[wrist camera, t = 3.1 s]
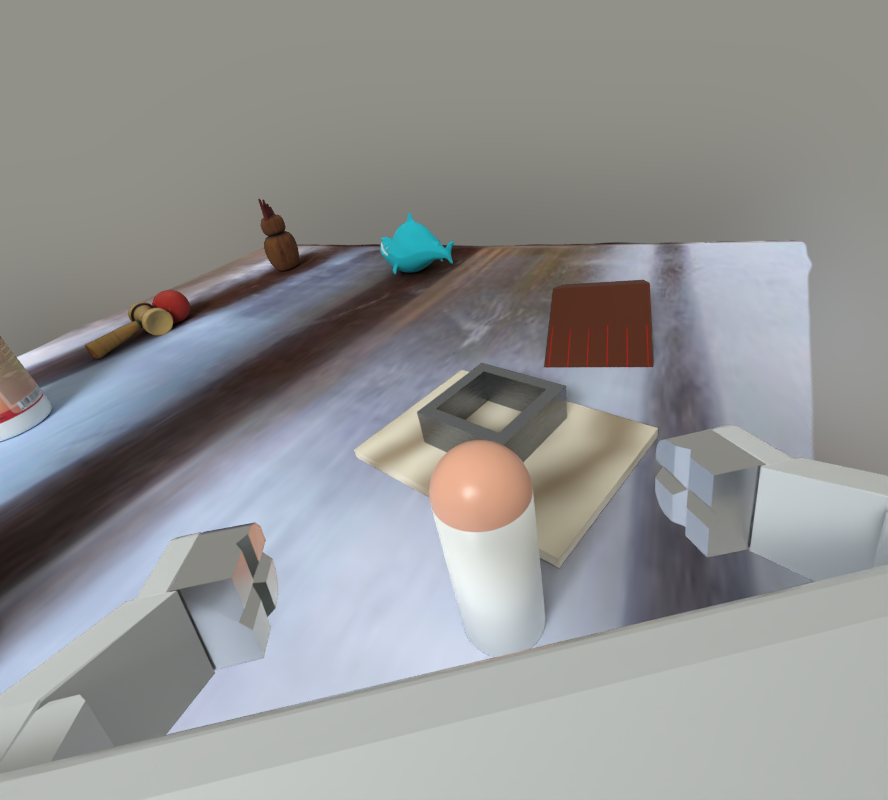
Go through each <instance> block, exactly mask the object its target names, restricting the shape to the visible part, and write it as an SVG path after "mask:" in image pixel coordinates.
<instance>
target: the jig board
mask: <svg viewBox="0 0 888 800" xmlns="http://www.w3.org/2000/svg"><path fill="white" fill-rule="evenodd" d="M468 373H469V372H467V371H464V370H461V371H460V372H458V373H457V374H456V375H454V376H453V377H451V378H450V379H449V380H447V381H446V382H445V383H443V384H442V385H441V386H439V387H438V388H437V389H435V390H434V391H433V392H431V393H430V394H429V395H427V396H426V397H425V398H423V399H422V400H421V401H419V402H418V403H416V404H415V405H414V406H412V407H411V408H410V409H408V410H407V411H406V412H404V413H403V414H402V415H400V416H399V417H398V418H396V419H395V420H394V421H392V422H391V423H390V424H388V425H387V426H385V427H384V428H383V429H381V430H380V431H379V432H377V433H376V434H375V435H373V436H372V437H371V438H369V439H368V440H367V441H365V442H364V443H363V444H361V445H360V446H359V447H357V448H356V449H355V450H354V451H355V454H356V456H357V458H358V459H360V460H362V461H364V462H366V463H367V464H369V465H371V466H373V467H375V468H377V469H378V470H380V471H382V472H384V473H386V474H388V475H389V476H391V477H393V478H395V479H397V480H399V481H400V482H402V483H404V484H406V485H408V486H410V487H411V488H413V489H415V490H417V491H419V492H421V493H422V494H424V495H426V496H428V497H429V487H430V481H431V476H432V474H433V471H434V469H435V467H436V465H437V464H438V462H439V460H440V459H441V458H442V457H443V456H444V455H445V454H446V453H447V452H445V451H443V450H440V449H438V448H436V447H434V446H431V445H429V444H427V443H425V442H424V438H423V434H422V431H421V427H420V423H419V419H418V415H417V411H419V410H420V409H421V408H423V407H424V406H425V405H427V404H428V403H429V402H431V401H432V400H433V399H435V398H436V397H437V396H439V395H440V394H441V393H443V392H444V391H445V390H447V389H448V388H449V387H451V386H452V385H453V384H454V383H456V382H457V381H458V380H460V379H461V378H462V377H464V376H465V375H466V374H468ZM566 405H567V418H566V419H565V421H564V422H563V423H562V424H561V425H560V426H559V427H558V428H557V429H556V430H555V431H554V432H553V433H552V434H551V435H550V436H549V437H548V438H547V439H546V440H545V441H544V442H543V443H542V444H541V445H540V446H539V447H538V448H537V449H536V450H535V451H534V452H533V453H532V454H531V455H530V456H529V457H528V458H527V459H526V460H525V461H524V462H523V463H524V465H525V466H526V468H527V470H528V472H529V475H530V477H531V482H532V487H533V496H534V506H535V516H536V526H537V536H538V546H539V556H540V558H541V559H543V560H545V561H547V562H549V563H550V564H552V565H554V566H556V567H558V568H560V567H561V565H562V564H563V563H564V561H565V560H566V559H567V557H568V556H569V555H570V553H571V552H572V551H573V549H574V548H575V547H576V545H577V544H578V543H579V541H580V540H581V539H582V537H583V536H584V535H585V533H586V532H587V531H588V529H589V528H590V527H591V525H592V524H593V523H594V521H595V520H596V519H597V517H598V516H599V515H600V513H601V512H602V511H603V509H604V508H605V507H606V505H607V504H608V503H609V501H610V500H611V499H612V497H613V496H614V495H615V493H616V492H617V491H618V489H619V488H620V487H621V485H622V484H623V483H624V481H625V480H626V478H627V477H628V476H629V474H630V473H631V472H632V470H633V469H634V468H635V466H636V465H637V464H638V462H639V461H640V460H641V458H642V457H643V456H644V454H645V453H646V452H647V450H648V449H649V448H650V446H651V445H652V444H653V442H654V441H655V440H656V438H657V434H658V428H656V427H652V426H649V425H645V424H642V423H639V422H635V421H632V420H629V419H625V418H622V417H618V416H615V415H612V414H608V413H605V412H602V411H598V410H595V409H592V408H588V407H585V406H581V405H578V404H575V403H571V402H568V401H566ZM520 413H521V412H520V411H517V410H514V409H511V408H508V407H505V406H502V405H499V404H496V403H493V402H490V401H487V402H486V403H485V404H484V405H483V406H482V407H480V408H479V409H478V410H477V411H476V412H474V413H473V414H472V415H471V416H470V417H468V418H467V419H466V420H467V421H469V422H472V423H474V424H477V425H480V426H482V427H485V428H488V429H490V430H493V431H495V432H498V433H499V432H500V431H502V430H503V429H504V428H505V427H506V426H507V425H508V424H509V423H510V422H511V421H512V420H514V419H515V418H516V417H517V416H518V415H519V414H520Z"/></svg>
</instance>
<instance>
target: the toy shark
mask: <svg viewBox="0 0 888 800" xmlns="http://www.w3.org/2000/svg"><path fill="white" fill-rule="evenodd" d="M382 243H383V244H382ZM382 243H381V248H380V251H381V253H382V255H383V256H384V258H385V259H386V260H387V261H388V262H389V264H390V265H391V266H393V272H394V274H396V272H397V270H399V271H402V272H406V273H413V272H418V271H421V270H423V269H424V268H426V267H427V266H428V265H430V264H431V263H432V262H433V261H434V260H436V259H439V260H441V261H442V262H443V260H442V258H446V259H448V260H449V262H450V263H453V261H452V258H451V248H452V246H453V244H454V241H451V242H450V243H449V244H448V245H447V247H446V249H445V248H444V247H443V246H442V244H441V243H440V241H439V240H438V239H437V238H436V237H435V236H434V235H433V234H432V233H431V232H430V231H429V230H428V229H427V228H426V227H425V226H423V225H422V224H419V223H416V222H414V221H413V219H412V216H411V213H409V214H408V219H407V222H406V223H404V224H402V225H401V226H400V227H399V228H398V229H397V231H396V232H395V234H394V236H393V239H390V238H389V237H383V238H382Z"/></svg>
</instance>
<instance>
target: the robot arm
mask: <svg viewBox="0 0 888 800" xmlns="http://www.w3.org/2000/svg"><path fill="white" fill-rule="evenodd" d="M656 460H657V461H658V462H659V464H660V465H661V466H662V468H661V470H660V471H659V473H658V474H657V476H656V477H655V493H656V496H657V499H658V503H659V505H660V507H661V509H662V510H663V512H664V514H665V515H666V516H667V517H668V518H669V519H670V520H671V521H672V522H675V523H677V524H680V525H683V526H685V527H686V531H685V536H686V537H687V538H688V539H689V540H690V541H691V542H692V543H693V544H694V545H695V546H696V547H697V548H698V549H699V550H700V551H701V552H702V553H703V554H704V555H705V556H706V557H712V556H717V555H722V554H727V553H732V552H737V551H742V550H747V549H750V551H751V552H753V553H755V554H757V555H759V556H761V557H763V558H766V559H768V560H770V561H772V562H774V563H776V564H778V565H780V566H782V567H784V568H787V569H789V570H791V571H793V572H795V573H797V574H799V575H801V576H803V577H806V578H808V579H810V580H812V581H814V582H812V583H808V584H803V585H799V586H795V587H791V588H786V589H782V590H778V591H774V592H769V593H765V594H761V595H757V596H752V597H748V598H744V599H740V600H735V601H731V602H727V603H723V604H718V605H714V606H710V607H706V608H701V609H697V610H693V611H689V612H684V613H680V614H676V615H672V616H667V617H663V618H659V619H655V620H650V621H646V622H642V623H638V624H633V625H629V626H625V627H621V628H616V629H612V630H608V631H604V632H600V633H595V634H591V635H587V636H583V637H578V638H574V639H570V640H566V641H562V642H557V643H553V644H549V645H545V646H541V647H536V648H532V649H528V650H524V651H520V652H515V653H511V654H507V655H503V656H499V657H494V658H490V659H486V660H482V661H477V662H473V663H469V664H465V665H460V666H456V667H452V668H448V669H444V670H439V671H435V672H431V673H427V674H422V675H418V676H414V677H410V678H405V679H401V680H397V681H393V682H388V683H384V684H380V685H376V686H371V687H367V688H363V689H359V690H354V691H350V692H346V693H342V694H337V695H333V696H329V697H325V698H320V699H316V700H312V701H308V702H303V703H299V704H295V705H291V706H286V707H282V708H278V709H274V710H270V711H265V712H261V713H257V714H253V715H248V716H244V717H240V718H236V719H231V720H227V721H223V722H219V723H214V724H210V725H206V726H202V727H197V728H193V729H189V730H185V731H180V732H176V733H172V734H168V735H166V734H167V733H168V732H169V730H170V729H171V728H172V727H173V725H174V724H175V723H176V722H177V720H178V719H179V718H180V717H181V715H182V714H183V713H184V712H185V710H186V709H187V708H188V706H189V705H190V704H191V703H192V701H193V700H194V699H195V698H196V696H197V695H198V694H199V693H200V691H201V690H202V689H203V688H204V686H205V685H206V684H207V683H208V681H209V680H210V679H211V678H212V676H213V675H214V674H215V672H214V671H215V670H219V669H223V668H227V667H231V666H235V665H238V664H242V663H246V662H250V661H254V660H258V659H262V658H264V655H265V651H266V647H267V643H268V638H269V634H270V630H271V626H270V623H269V620H268V618H267V617H268V616H269V615H270V614H271V613H272V612H273V610H274V609H275V608H276V604H277V599H278V578H277V573H276V568H275V565H274V562H273V559H272V558H271V557H269V556H268V555H266V554H265V553H263V552H262V551H263V548H264V544H265V541H266V540H265V537H264V535H263V532H262V529H261V527H260V526H259V525H258V524H257V523H250V524H245V525H239V526H234V527H228V528H223V529H217V530H212V531H207V532H203V533H195V534H191V535H186V536H181V537H177V538H175V539H173V540H171V541H170V543H169V544H168V546H167V548H166V549H165V551H164V553H163V554H162V556H161V558H160V559H159V561H158V563H157V564H156V566H155V568H154V569H153V571H152V572H151V574H150V576H149V577H148V579H147V581H146V582H145V584H144V586H143V587H142V589H141V591H140V592H139V594H138V596H137V597H136V599H134V600H130V601H126V602H125V603H123V604H122V605H120V606H119V607H118V608H116V609H115V610H114V611H112V612H111V613H110V614H108V615H107V616H106V617H104V618H103V619H102V620H100V621H99V622H98V623H96V624H95V625H94V626H92V627H91V628H89V629H88V630H87V631H85V632H84V633H83V634H81V635H80V636H79V637H77V638H76V639H75V640H73V641H72V642H71V643H69V644H68V645H67V646H65V647H64V648H62V649H61V650H60V651H58V652H57V653H56V654H54V655H53V656H52V657H50V658H49V659H48V660H46V661H45V662H44V663H42V664H41V665H40V666H38V667H37V668H36V669H34V670H33V671H31V672H30V673H29V674H27V675H26V676H25V677H23V678H22V679H21V680H19V681H18V682H17V683H15V684H14V685H13V686H11V687H10V688H9V689H7V690H6V691H5V692H3V693H2V694H0V800H888V476H887V475H882V474H877V473H872V472H868V471H863V470H858V469H853V468H849V467H843V466H839V465H834V464H830V463H825V462H820V461H815V460H811V459H806V458H797V459H793V458H791V457H790V456H788V455H786V454H784V453H783V452H781V451H779V450H777V449H776V448H774V447H772V446H771V445H769V444H767V443H765V442H764V441H762V440H760V439H759V438H757V437H755V436H753V435H752V434H750V433H748V432H747V431H745V430H743V429H741V428H740V427H738V426H736V425H729V424H728V425H724V426H720V427H716V428H712V429H707V430H704V431H700V432H695V433H691V434H687V435H682V436H678V437H674V438H669V439H665V440H661V441H659V442H658V445H657V448H656Z"/></svg>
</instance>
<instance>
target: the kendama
mask: <svg viewBox="0 0 888 800" xmlns="http://www.w3.org/2000/svg"><path fill="white" fill-rule="evenodd" d="M189 313H190V304H189V302H188V300H187V298H186V297H185V296H184V295H183V294H181V293H180V292H178V291H174V290H166V291H162V292H160V293H158V294H157V295H156V296H155V298H154V300H153V303H152V305H151V304H149V303H146V302H137V303H135V304H134V305H132V306H131V307H130V309H129V312H128V316H129V318H130V320H131V321H132V322H131V323H129V324H126V325H124V326H122V327H120V328H118V329H116V330H114V331H112V332H110V333H108V334H106V335H104V336H102V337H100V338H98V339H96V340H95V341H92V342H90V343H88V344H86V345H85V347H86V349H87V350H88V351H89V352H90V354H91V355H92V356H94V357H95V358H96V359H100V358H102V357H103V356H105V355H106V353H109V352H110V351H111V350H113V349H114V348H116V347H117V346H119V345H120V344H121V343H123V342H124V341H126V340H127V339H129V338H130V337H131V336H133V335H134V334H135V333H136V332H137V331H139V330H140V329H141V328H142V327H143V328H144V329H145V330H146V331H147V332H148V333H150V334H152V335H156V336H161V335H163V334H165V333H167V332H169V331H170V330H171V328H172V326H173V323H179V322H181V321H183V320H185V319H186V318H187V316H188V315H189Z"/></svg>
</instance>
